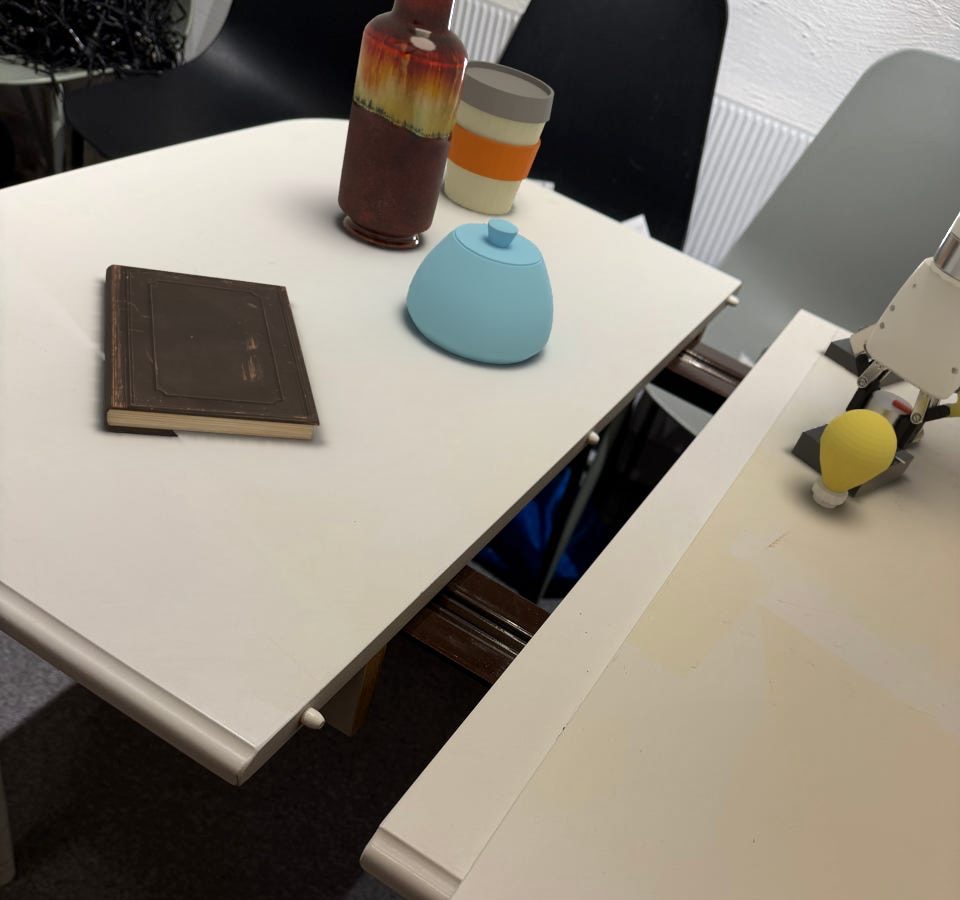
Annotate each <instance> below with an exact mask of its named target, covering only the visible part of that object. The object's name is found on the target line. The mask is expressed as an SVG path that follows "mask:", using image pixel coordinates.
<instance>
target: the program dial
mask: <svg viewBox="0 0 960 900" xmlns="http://www.w3.org/2000/svg"><path fill="white" fill-rule="evenodd" d="M913 408H914V406H912V404H910V403H909V402H908V401H907V400H906V399H904V398H903V397H901V396H899V395H897V394H895V393H893V392H890V391H886V390H882V389H880V390H876V391H874V392H873V393H872V394H871V396H870V398H869V399H868V401H867V403H866V404H865V406H864V408H863V409H865V410H870V411H874V412H876V413H878V414H880V415H882V416H883V417H884V418H886V419H887V420H888V421H889V423H890V424H891V425H892V427H893V429H894V431H895V430H896V428H897V426H898V425H899V423H900V422H901V420H902V419H903V418H905V417H908V416H909V415H910V414H911V412H912V411H913Z"/></svg>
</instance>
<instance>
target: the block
mask: <svg viewBox="0 0 960 900" xmlns="http://www.w3.org/2000/svg"><path fill="white" fill-rule="evenodd" d="M869 326H870V325H865V326H860V327H859V328H858V330H857V332H859V331H861V330H863V329H865V328H867V327H869ZM849 338H850V337H847V338H841V339H837V340H833V341H831V342H830V343H829V345H828V346H827V348H826V350H825V352H824V354H823V355H824V356H825V357H827V358H829V359H830V360H831V361H833V362H834V363H836V364H838V365H839V366H841V367H843V368H844V369H845V370H847V371H848V372H850V373H851V374H853V375H855V376H856V377H858V372H857V367H856V361H855V360H856V356H855V355H854V353H853V350H852V347H851V345H850V342H849ZM902 381H905V380H904V379H902V378H901V377H899V376H898V375H896V374H895V373H893V372H892V371H891V372H890V373H889V374H888V375H887V376H886V377H885V378H884V379H883V380H882V381H881V382H880V385H879V387H880V388H882V387H885V386H889V385H892V384H895V383H898V382H902Z"/></svg>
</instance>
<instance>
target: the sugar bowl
mask: <svg viewBox="0 0 960 900" xmlns="http://www.w3.org/2000/svg"><path fill="white" fill-rule="evenodd" d="M519 230H520V229H519V227H517V225H515V224H514V223H513V222H511V221H509V220H507V219H503V218H490V219H488V220H487V223H482V222H481V223H480V222H469V223H464V224H461V225H459V226H457V227H455V228H454V229H453V230H451V231H449V233H448V234H446V235H445V236H444V237H443V238H442V239H441V240H440V241H439V242H438V243H437V244H436V245H435V246H434V247H433V248H431V250H430V252H429V253H427V255H426V256H425V257H424V258H423V260H422V262H421V263H420V265H419V266H418V268H417V269H416V271H415V273H414V275H413V277H412V280H411V281H410V284H409V287H408V291H407V295H406V307H407V311H408V313H409V315H410V317H411V319H412V321H413V323H414V325H415V327H416V328H417V329H418V331H419V332H420V333H421V334H422V335H423V336H424V337H425V338H426V339H427V340H428V341H430V342H431V343H433V344H434V345H436V346H437V347H439V348H441V349H443V350H445V351H446V352H449V353H451V354H453V355H456V356H457V357H461V358H464V359H468V360H471V361H474V362H479V363H484V364H491V365H511V364H516V363H520V362H524V361H526V360H527V359H530V358H531V357H533V356H535V355H536V354H538V353H540V352H541V351H542V350H543V349H544V347H545V346H547V344H548V342H549V339H550V337H551V333H552V329H553V324H554V323H553V322H554V295H553V290H552V284H551V280H550V276H549V272H548V269H547V264H546V262H545V259H544V255H543V254H542V251H540V249H539V247H538V246H537V245H536V244H535V243H534V242H532V240H530V239H528V238H526V237H524V236H523V235H521V234H519Z"/></svg>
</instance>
